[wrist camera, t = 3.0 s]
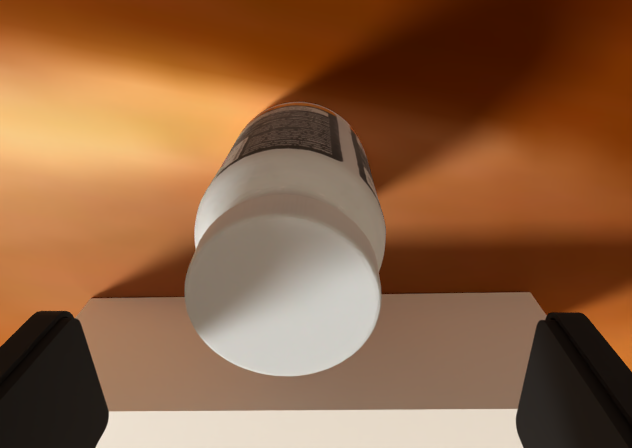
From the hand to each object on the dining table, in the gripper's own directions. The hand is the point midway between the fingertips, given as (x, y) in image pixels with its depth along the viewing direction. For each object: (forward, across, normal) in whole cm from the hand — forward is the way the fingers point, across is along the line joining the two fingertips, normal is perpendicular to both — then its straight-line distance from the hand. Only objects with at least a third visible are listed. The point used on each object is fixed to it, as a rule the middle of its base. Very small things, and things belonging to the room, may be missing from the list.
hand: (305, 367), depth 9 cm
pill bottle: (+12, +1, -1) cm, 12 cm away
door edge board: (+12, +1, +7) cm, 14 cm away
